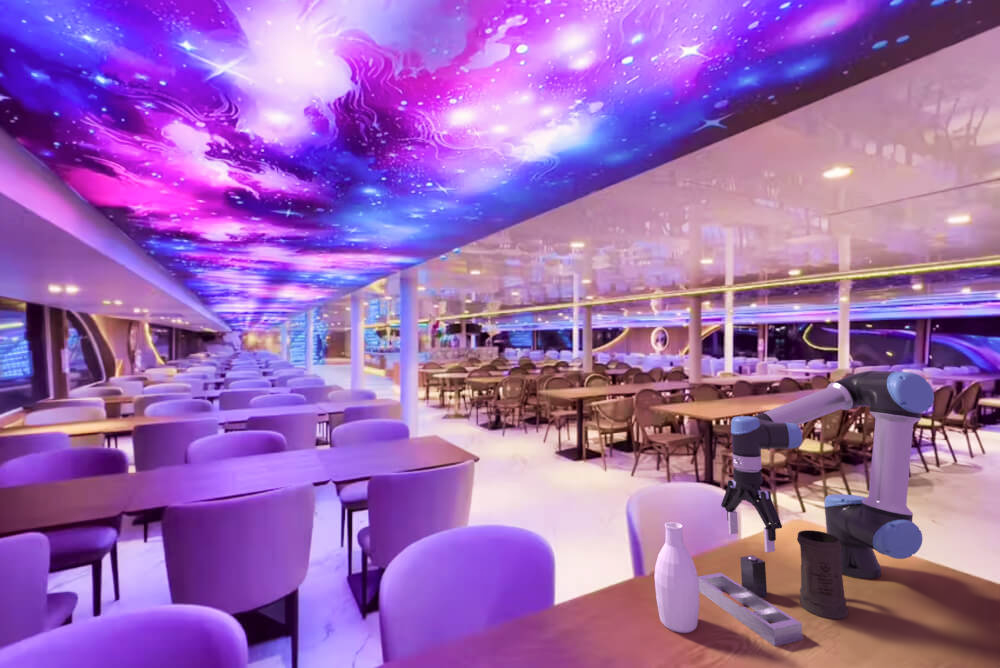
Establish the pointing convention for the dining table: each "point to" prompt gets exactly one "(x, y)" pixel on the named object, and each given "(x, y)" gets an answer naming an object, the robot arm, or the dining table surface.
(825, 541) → the beer stein
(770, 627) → the frame with square openings
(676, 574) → the bottle
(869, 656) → the dining table surface
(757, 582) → the square peg with dome
